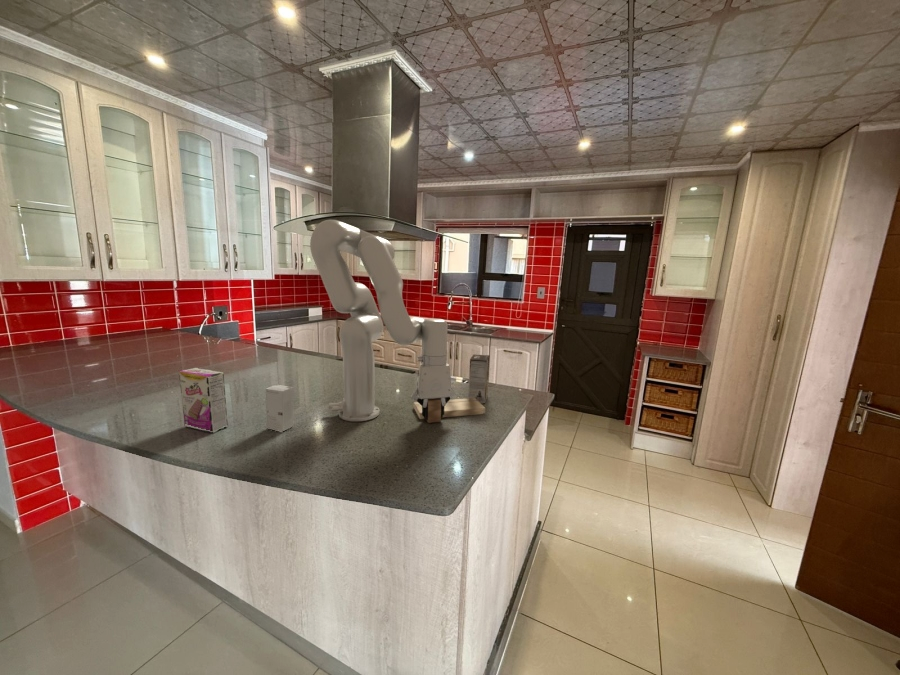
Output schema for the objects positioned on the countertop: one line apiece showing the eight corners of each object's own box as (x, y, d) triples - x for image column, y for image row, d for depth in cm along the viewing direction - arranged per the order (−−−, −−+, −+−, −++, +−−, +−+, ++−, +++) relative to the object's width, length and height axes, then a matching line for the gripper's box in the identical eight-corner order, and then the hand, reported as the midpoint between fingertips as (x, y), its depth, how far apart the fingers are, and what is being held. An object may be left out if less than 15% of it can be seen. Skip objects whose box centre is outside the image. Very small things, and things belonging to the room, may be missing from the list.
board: (419, 419, 108) (419, 412, 108) (413, 407, 117) (413, 402, 117) (485, 413, 114) (485, 407, 114) (474, 403, 124) (474, 397, 123)
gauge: (427, 422, 105) (428, 398, 103) (420, 408, 116) (420, 386, 115) (440, 421, 106) (441, 397, 104) (431, 407, 117) (432, 385, 116)
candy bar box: (183, 427, 97) (177, 371, 94) (200, 421, 101) (196, 367, 99) (211, 434, 93) (206, 375, 91) (229, 427, 98) (224, 371, 95)
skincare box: (265, 429, 97) (263, 388, 95) (278, 423, 101) (275, 384, 99) (283, 433, 95) (281, 391, 93) (295, 427, 100) (293, 386, 98)
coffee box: (471, 394, 133) (473, 353, 131) (487, 396, 132) (489, 355, 130) (467, 402, 124) (469, 359, 122) (485, 404, 123) (487, 360, 121)
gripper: (408, 364, 98) (408, 425, 101) (464, 361, 103) (462, 420, 105) (404, 358, 105) (404, 415, 108) (456, 356, 110) (455, 411, 113)
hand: (433, 417), depth 107 cm, fingers closed on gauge, 4 cm apart
